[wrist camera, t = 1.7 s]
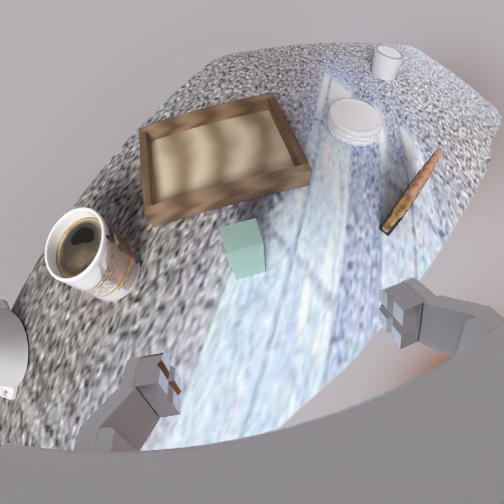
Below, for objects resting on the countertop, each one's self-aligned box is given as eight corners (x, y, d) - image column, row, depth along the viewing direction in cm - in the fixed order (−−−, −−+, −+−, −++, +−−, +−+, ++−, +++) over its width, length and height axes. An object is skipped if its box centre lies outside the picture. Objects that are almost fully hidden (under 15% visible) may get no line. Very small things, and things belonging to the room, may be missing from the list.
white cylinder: (402, 81, 54) (409, 59, 47) (380, 83, 53) (386, 59, 47) (385, 65, 56) (391, 44, 50) (363, 66, 56) (368, 44, 49)
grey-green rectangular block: (236, 279, 40) (225, 253, 30) (231, 259, 41) (219, 227, 32) (265, 271, 40) (263, 242, 31) (259, 251, 41) (255, 217, 32)
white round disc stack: (330, 105, 51) (332, 91, 48) (379, 118, 49) (383, 106, 46) (322, 138, 48) (324, 125, 45) (376, 154, 46) (382, 141, 43)
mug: (78, 296, 40) (33, 275, 30) (95, 226, 44) (59, 192, 34) (133, 306, 39) (92, 286, 29) (149, 228, 43) (118, 190, 33)
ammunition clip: (408, 186, 44) (437, 141, 32) (417, 193, 43) (448, 149, 32) (378, 228, 41) (408, 184, 30) (387, 236, 41) (420, 194, 29)
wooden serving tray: (154, 227, 43) (144, 214, 40) (146, 142, 50) (139, 128, 46) (308, 185, 44) (311, 169, 41) (273, 108, 51) (272, 93, 47)
